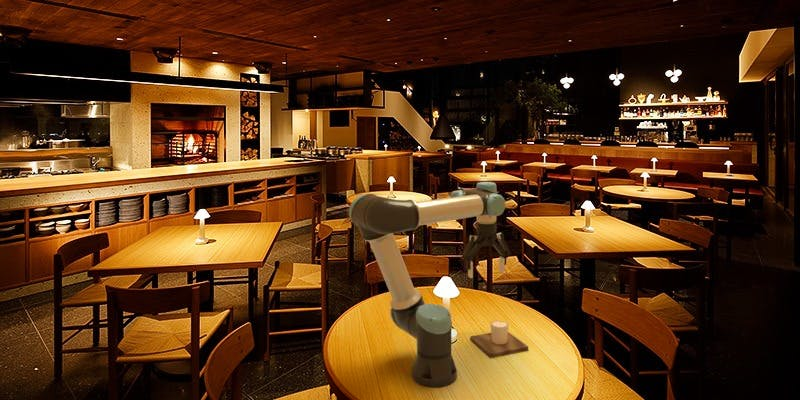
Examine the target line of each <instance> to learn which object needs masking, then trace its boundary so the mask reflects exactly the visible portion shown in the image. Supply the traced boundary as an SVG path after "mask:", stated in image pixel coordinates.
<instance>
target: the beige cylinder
mask: <svg viewBox="0 0 800 400" xmlns="http://www.w3.org/2000/svg"><path fill="white" fill-rule="evenodd" d="M489 326H490V333H491V336H492V342H493V343H495V344H505V343H506V342H507V335H508V332H509V323H508V322H507V321H503V320H493V321H491V322H490V325H489Z"/></svg>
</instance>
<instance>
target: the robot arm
mask: <svg viewBox="0 0 800 400" xmlns="http://www.w3.org/2000/svg"><path fill="white" fill-rule="evenodd" d="M475 187H476V188H471V189H469V188H468V189H467V188H466V189H459V190H454V191H451V193H450V195H449V197H445V198H437V199H431V200H430V199H429V200H424V201H422V200H421V201H414V199H405V200H403V199H394V198H388V197H385V196H379V195H377V194H374V193H363V194H360V195H358V196H356V197H355V198H354V199H353V201H352V202H351V203H350V206H349V208H348V209H349V210H348V216H349V219H350V221H351V222H352V224H353V225H354V226H356V227H357V228H358V231H359V232H360V234H361V238H362V239H363V241H365V242H368V243H369V244H370V247H371V250H372V252H373V255H374V257H375V259H376V262H377V264H378V267H379V269H380V272H381V274H382V277H383V279H384V282H385V284H386V287H387V289H388V291H389V294H390V296H391V300H390V303H389V304H390V307H391V308H390V312H389V313H390V319H391V320H392V322H393V323H394V324H395V326H396V327H398V328H399V329H400V330H402V331H404V332H405V333H407V335H409V336H411V337H413V338H414V339H416V356H415V360H414V361H413V365H412V367H411V374H412V379H413V381H414V382H416V383H417V384H419V385H422V386H426V387H428V388H429V387H430V388H441V387H446V386H449V385H452V384H453V383H454V382H455V381H456V380H457V378H458V377H457V376H458V369H457V367H456V364H455V359H454V358H453V355H452V325H453V322H452V316H451V313H450V311H449V309H448V308H446V307H445V306H443V305H441V304H435V303H425V300H424V298H423V296H422V293H421V291H420V290H418V289H415V287H414V285H413V282H412V279H411V277H410V274H409V271H408V269H407V266H406V263H405V261H404V259H403V256H402V254H401V251H400V247H399V245H398V242H397V240H396V237H395V234H396V233H397V234H399V233H403V232H407V231H413V230H416V229H418V227H419V226H424V225H430V224H432V225H433V224H436V223H442V222H449V221H456V220H462V219H467V218H468V219H469V218H474V217H476V221H477V223H476V235H471V234H469V236H468V241H467V244H466V246H465V248H464V250H463V252H462V255H461V257H460V258H461V259H462V260H464V261H465V268H466V269H467V277H468V278H470V279H473V277H474V265H473V264H474V261H473V259H474V257H475V256H476V255H477V253H478V252H479V250H480V249H481V248H483V247H488V246H489V247H491V246H493V248H494V249H495V250H496V251H497V252H498V253H499V255H500V256H498V257H499V260H498V261H499V262H498V263H499V264H498V265H499V267H498V268H499V270H498V271H499V274H501V275H505V266H506V265H507V259H508V258H509V256H512V253H511V251H510V249H509V246H508V243H506V240H505V235H504V233H503V232H500V231H499V232H498V233H497V223H496V222H497V217H498V216H501V215H502V214H503V213H504V211H505V209H506V200H505V198H504V197H503V196H502V194H498V192H497V191H498V189H497V184H496V183H495V182H492V181H480V182H477V183H476V186H475ZM497 239H498V242H499V243H500V245H501V247H500V245H499V244H498V242H496V240H497Z"/></svg>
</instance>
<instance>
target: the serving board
mask: <svg viewBox="0 0 800 400" xmlns="http://www.w3.org/2000/svg"><path fill="white" fill-rule="evenodd" d="M469 340H470V341H471V342H472V343H473V344H475V346H477V348H479V349H480V350H481V351H482V352H483V353H485V354H486V355H487V356H488V357H489V358H490V359H492V358H496V357H497V358H498V357H502V356H503V357H504V356H507V355H512V354H518V353H522V352H526V351H529V345H527V344H526V343H524V342H523V341H521V340H520V339H519V338H517V337H516V336H515V335H513V334H511V333H510V332H509V331H508V335H507V342H506V343H505V344H495V343H493V342H492V336H491V332H487V333H481V334H477V335H476V334H475V335H472V336H471V335H470V336H469Z"/></svg>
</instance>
